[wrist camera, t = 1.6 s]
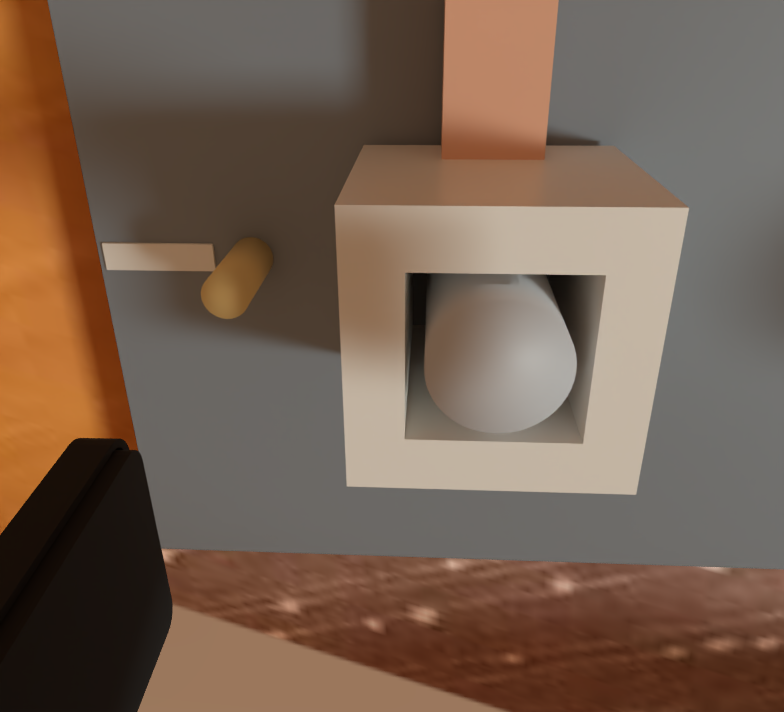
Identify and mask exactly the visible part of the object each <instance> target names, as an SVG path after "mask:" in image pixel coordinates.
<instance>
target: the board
mask: <svg viewBox="0 0 784 712" xmlns="http://www.w3.org/2000/svg"><path fill="white" fill-rule="evenodd" d="M48 5H49V10H50V15H51V20H52V25H53V30H54V35H55V40H56V45H57V50H58V55H59V60H60V65H61V70H62V75H63V80H64V85H65V90H66V95H67V100H68V104H69V109H70V114H71V119H72V124H73V129H74V134H75V139H76V144H77V149H78V154H79V159H80V164H81V169H82V174H83V179H84V184H85V189H86V194H87V199H88V204H89V208H90V213H91V218H92V223H93V228H94V233H95V238H96V243H97V248H98V253H99V258H100V263H101V268H102V273H103V278H104V283H105V288H106V293H107V298H108V303H109V308H110V313H111V317H112V322H113V327H114V332H115V337H116V342H117V347H118V352H119V357H120V362H121V367H122V372H123V377H124V382H125V387H126V392H127V397H128V402H129V407H130V412H131V417H132V421H133V426H134V431H135V436H136V441H137V446H138V451H139V453H140V454H141V456H142V459H143V463H144V468H145V473H146V478H147V483H148V487H149V492H150V497H151V502H152V507H153V511H154V516H155V521H156V526H157V531H158V535H159V540H160V545H161V548H164V549H193V550H223V551H253V552H283V553H313V554H343V555H373V556H402V557H432V558H462V559H492V560H522V561H552V562H582V563H611V564H641V565H671V566H701V567H731V568H761V569H784V0H559V2H558V13H557V24H556V36H555V47H554V58H553V69H552V81H551V92H550V103H549V114H548V126H547V137H546V146H615V147H616V148H617V149H619V150H620V151H621V152H622V153H623V154H625V155H626V156H627V157H628V158H629V159H631V160H632V161H633V162H634V163H636V164H637V165H638V166H639V167H640V168H642V169H643V170H644V171H645V172H646V173H648V174H649V175H650V176H651V177H652V178H654V179H655V180H656V181H657V182H659V183H660V184H661V185H662V186H663V187H665V188H666V189H667V190H668V191H669V192H671V193H672V194H673V195H674V196H676V197H677V198H678V199H679V200H680V201H682V202H683V203H684V204H685V205H686V206H688V207H689V211H688V217H687V222H686V228H685V233H684V238H683V244H682V249H681V255H680V260H679V265H678V271H677V276H676V282H675V287H674V293H673V298H672V303H671V309H670V314H669V320H668V325H667V330H666V336H665V341H664V347H663V352H662V357H661V363H660V368H659V374H658V379H657V384H656V390H655V395H654V401H653V406H652V411H651V417H650V422H649V428H648V433H647V438H646V444H645V449H644V455H643V460H642V465H641V471H640V476H639V482H638V487H637V493H636V495H627V494H592V493H557V492H522V491H487V490H452V489H416V488H381V487H347V481H346V458H345V435H344V412H343V390H342V367H341V344H340V321H339V298H338V275H337V252H336V230H335V207H334V205H335V203H336V201H337V199H338V197H339V195H340V193H341V191H342V189H343V186H344V184H345V182H346V180H347V178H348V176H349V174H350V172H351V170H352V168H353V166H354V164H355V162H356V160H357V158H358V156H359V154H360V152H361V150H362V148H363V146H364V145H441V125H442V84H443V42H444V0H48ZM549 276H550V275H547V274H468V273H413V325H426V326H425V359H424V373H425V381H426V385H427V388H428V391H429V393H430V395H431V397H432V399H433V401H434V402H435V404H436V405H437V406H438V408H439V409H440V410H441V411H442V412H443V413H444V414H445V415H446V416H448V417H449V418H450V419H451V420H453V421H455V422H456V423H458V424H460V425H462V426H464V427H466V428H469V429H472V430H475V431H479V432H485V433H495V434H497V433H510V432H516V431H520V430H524V429H527V428H529V427H532V426H534V425H536V424H538V423H540V422H542V421H543V420H545V419H546V418H548V417H549V416H550V415H551V414H553V413H554V412H555V411H556V410H557V409H558V408H559V407H560V406H561V405H562V404H563V402H564V401H565V399H566V398H567V396H568V395H569V393H570V391H571V389H572V386H573V383H574V381H575V376H576V370H577V358H576V352H575V348H574V344H573V342H572V339H571V337H570V334H569V332H568V329H567V327H566V324H565V322H564V319H563V317H562V314H561V312H560V309H559V307H558V304H557V302H556V299H555V297H554V294H553V292H552V289H551V287H550V284H549Z"/></svg>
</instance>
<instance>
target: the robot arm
mask: <svg viewBox="0 0 784 712" xmlns="http://www.w3.org/2000/svg"><path fill="white" fill-rule="evenodd" d="M171 620H172V598H171V593H170V588H169V583H168V579H167V574H166V569H165V564H164V559H163V555H162V550H161V545H160V540H159V535H158V531H157V526H156V521H155V516H154V511H153V507H152V502H151V497H150V492H149V487H148V483H147V478H146V473H145V468H144V463H143V459H142V456H141V454H140V453H139V451H136V450H129V448H128V445H127V444H126V442H125V441H124V440H122V439H103V438H78V439H75V440H74V441H73V442H71V443H70V444H69V446H68V447H67V448H66V450H65V451H64V452H63V454H62V455H61V456H60V458H59V459H58V460H57V461H56V463H55V464H54V465H53V467H52V468H51V469H50V471H49V472H48V473H47V475H46V476H45V477H44V478H43V480H42V481H41V482H40V484H39V485H38V486H37V488H36V489H35V490H34V492H33V493H32V494H31V496H30V497H29V498H28V499H27V501H26V502H25V503H24V505H23V506H22V507H21V509H20V510H19V511H18V513H17V514H16V515H15V516H14V518H13V519H12V520H11V522H10V523H9V524H8V526H7V527H6V528H5V530H4V531H3V532H2V533H1V535H0V712H137V711H138V709H139V706H140V703H141V701H142V698H143V696H144V693H145V691H146V688H147V685H148V683H149V680H150V678H151V675H152V672H153V670H154V667H155V665H156V662H157V660H158V657H159V655H160V652H161V649H162V647H163V644H164V642H165V639H166V637H167V634H168V631H169V628H170V625H171Z"/></svg>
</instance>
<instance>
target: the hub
mask: <svg viewBox="0 0 784 712" xmlns="http://www.w3.org/2000/svg"><path fill="white" fill-rule="evenodd" d="M558 2H559V0H444V42H443V84H442V125H441V145H364V146H363V148H362V150H361V152H360V154H359V156H358V158H357V160H356V162H355V164H354V166H353V168H352V170H351V172H350V174H349V176H348V178H347V180H346V182H345V184H344V186H343V189H342V191H341V193H340V195H339V197H338V199H337V201H336V203H335V205H334V207H335V230H336V252H337V275H338V298H339V321H340V344H341V367H342V390H343V412H344V435H345V458H346V481H347V487H381V488H416V489H452V490H487V491H522V492H557V493H592V494H627V495H636V493H637V487H638V482H639V476H640V471H641V465H642V460H643V455H644V449H645V444H646V438H647V433H648V428H649V422H650V417H651V411H652V406H653V401H654V395H655V390H656V384H657V379H658V374H659V368H660V363H661V357H662V352H663V347H664V341H665V336H666V330H667V325H668V320H669V314H670V309H671V303H672V298H673V293H674V287H675V282H676V276H677V271H678V265H679V260H680V255H681V249H682V244H683V238H684V233H685V228H686V222H687V217H688V211H689V207H688V206H686V205H685V204H684V203H683V202H682V201H680V200H679V199H678V198H677V197H676V196H674V195H673V194H672V193H671V192H669V191H668V190H667V189H666V188H665V187H663V186H662V185H661V184H660V183H659V182H657V181H656V180H655V179H654V178H652V177H651V176H650V175H649V174H648V173H646V172H645V171H644V170H643V169H642V168H640V167H639V166H638V165H637V164H636V163H634V162H633V161H632V160H631V159H629V158H628V157H627V156H626V155H625V154H623V153H622V152H621V151H620V150H619V149H617V148H616V147H615V146H546V137H547V126H548V114H549V103H550V92H551V81H552V69H553V58H554V47H555V36H556V24H557V13H558ZM413 273H468V274H547V275H550V276H549V284H550V287H551V289H552V292H553V294H554V297H555V299H556V302H557V304H558V307H559V309H560V312H561V314H562V317H563V319H564V322H565V324H566V327H567V329H568V332H569V334H570V337H571V339H572V342H573V344H574V348H575V352H576V358H577V370H576V376H575V381H574V383H573V386H572V389H571V391H570V393H569V395H568V396H567V398H566V399H565V401H564V402H563V404H562V405H561V406H560V407H559V408H558V409H557V410H556V411H555V412H554V413H553V414H551V415H550V416H549V417H548V418H546V419H545V420H543V421H542V422H540V423H538V424H536V425H534V426H532V427H529V428H527V429H524V430H520V431H516V432H510V433H497V434H495V433H485V432H479V431H475V430H472V429H469V428H466V427H464V426H462V425H460V424H458V423H456V422H455V421H453V420H451V419H450V418H449V417H448V416H446V415H445V414H444V413H443V412H442V411H441V410H440V409H439V408H438V406H437V405H436V404H435V402H434V401H433V399H432V397H431V395H430V393H429V391H428V388H427V385H426V381H425V373H424V359H425V326H426V325H413Z"/></svg>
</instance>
